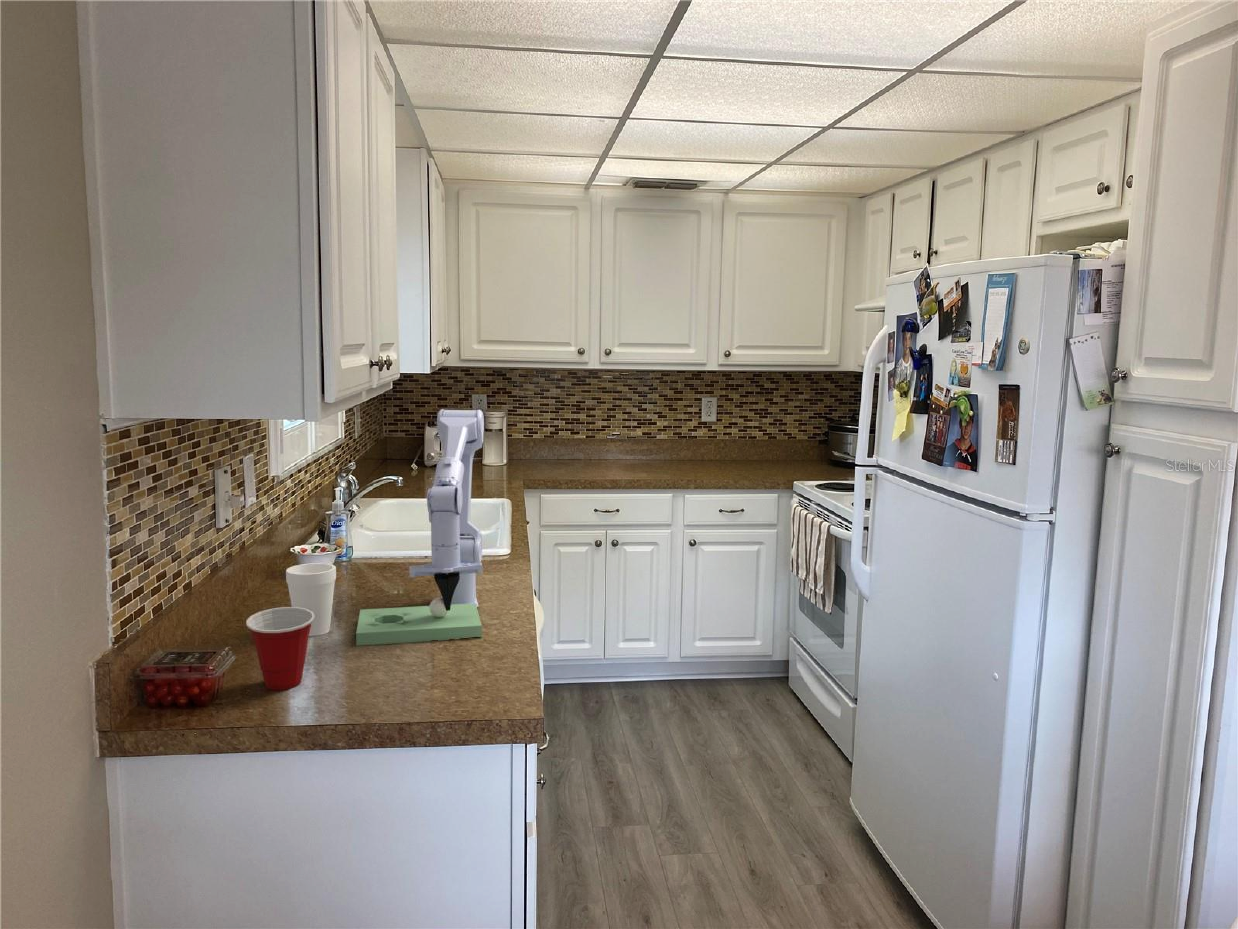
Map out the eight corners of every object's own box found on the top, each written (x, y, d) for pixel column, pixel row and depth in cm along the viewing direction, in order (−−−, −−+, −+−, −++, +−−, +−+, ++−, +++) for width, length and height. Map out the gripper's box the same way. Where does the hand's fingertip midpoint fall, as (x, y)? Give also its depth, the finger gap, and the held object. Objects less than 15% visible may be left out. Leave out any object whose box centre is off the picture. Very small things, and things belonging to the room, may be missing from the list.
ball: (446, 612, 181) (427, 613, 180) (447, 594, 181) (428, 595, 179) (450, 619, 178) (430, 621, 176) (451, 601, 177) (431, 602, 175)
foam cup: (321, 621, 183) (319, 560, 181) (346, 630, 177) (345, 568, 175) (279, 632, 175) (276, 569, 174) (304, 642, 170) (302, 577, 168)
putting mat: (360, 621, 183) (360, 609, 183) (475, 614, 189) (475, 603, 188) (356, 645, 168) (356, 633, 167) (481, 637, 173) (481, 625, 173)
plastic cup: (244, 699, 141) (241, 628, 140) (253, 676, 152) (250, 609, 150) (314, 693, 144) (312, 623, 143) (318, 670, 154) (316, 605, 153)
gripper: (409, 549, 171) (410, 616, 173) (483, 546, 175) (484, 612, 176) (408, 543, 178) (410, 607, 179) (480, 539, 182) (481, 603, 183)
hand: (446, 609), depth 178 cm, fingers closed, pressing on ball
